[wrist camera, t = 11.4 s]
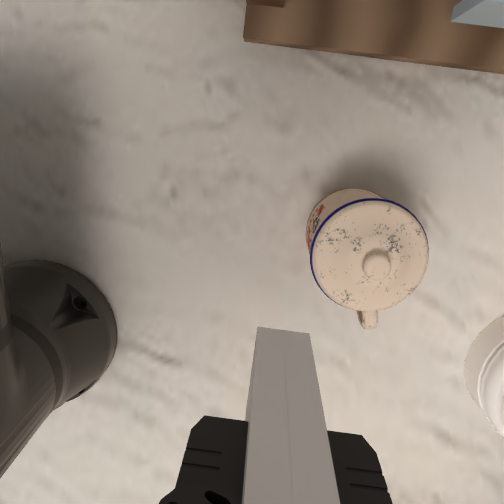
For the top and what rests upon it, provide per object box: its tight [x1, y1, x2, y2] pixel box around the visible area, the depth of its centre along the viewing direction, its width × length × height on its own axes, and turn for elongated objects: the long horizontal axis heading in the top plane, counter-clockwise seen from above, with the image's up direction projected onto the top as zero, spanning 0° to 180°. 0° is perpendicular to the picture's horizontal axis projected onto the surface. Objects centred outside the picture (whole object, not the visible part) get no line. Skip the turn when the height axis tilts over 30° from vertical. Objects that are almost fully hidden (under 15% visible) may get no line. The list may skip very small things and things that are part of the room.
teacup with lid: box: [306, 188, 429, 329], centre depth 37 cm, size 12×9×12 cm
